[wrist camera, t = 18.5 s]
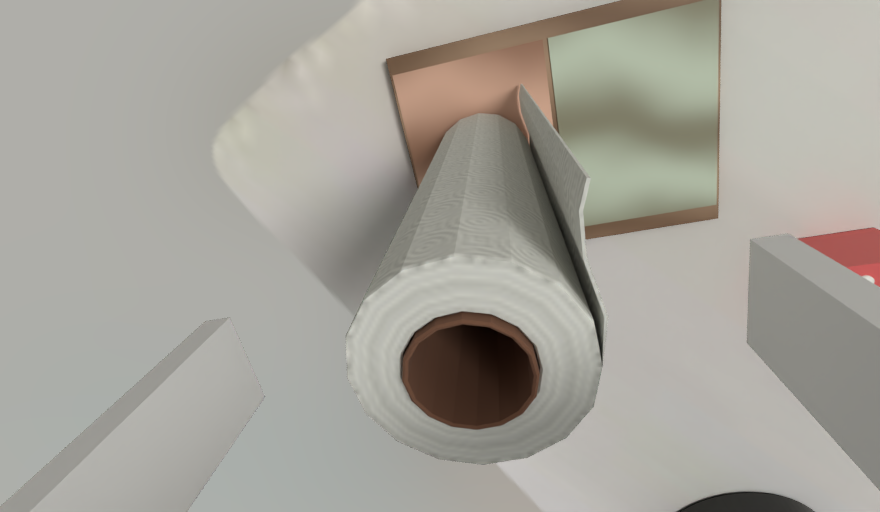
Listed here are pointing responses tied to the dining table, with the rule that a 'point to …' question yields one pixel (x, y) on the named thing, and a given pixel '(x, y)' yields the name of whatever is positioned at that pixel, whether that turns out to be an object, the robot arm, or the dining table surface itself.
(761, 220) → the dining table surface
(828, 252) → the red die
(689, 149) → the game board
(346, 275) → the dining table surface
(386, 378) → the paper towel roll
